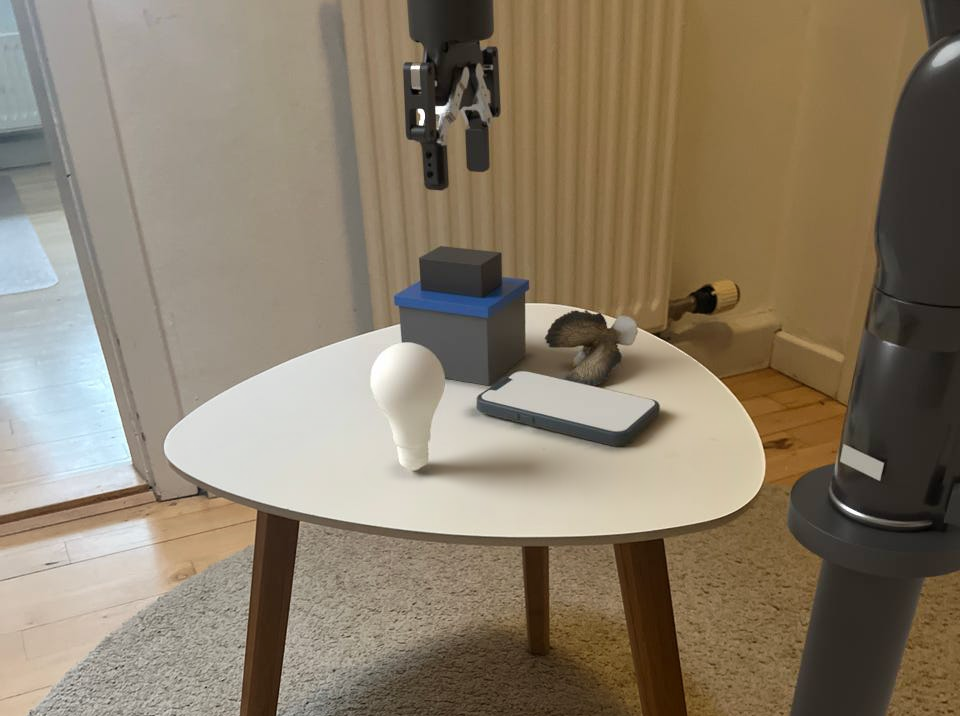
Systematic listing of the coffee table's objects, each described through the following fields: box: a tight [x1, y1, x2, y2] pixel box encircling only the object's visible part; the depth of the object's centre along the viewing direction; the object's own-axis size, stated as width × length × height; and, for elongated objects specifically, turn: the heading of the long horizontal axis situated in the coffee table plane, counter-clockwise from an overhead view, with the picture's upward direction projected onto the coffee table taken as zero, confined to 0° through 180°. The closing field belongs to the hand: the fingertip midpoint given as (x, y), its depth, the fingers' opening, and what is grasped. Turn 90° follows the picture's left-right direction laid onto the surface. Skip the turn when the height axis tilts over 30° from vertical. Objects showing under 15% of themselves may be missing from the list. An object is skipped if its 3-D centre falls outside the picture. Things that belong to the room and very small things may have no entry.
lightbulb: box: [369, 342, 446, 472], centre depth 82 cm, size 6×6×11 cm
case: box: [418, 245, 503, 298], centre depth 99 cm, size 7×5×3 cm, turn 63°
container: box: [393, 276, 530, 387], centre depth 102 cm, size 11×10×8 cm
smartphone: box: [476, 370, 661, 447], centre depth 93 cm, size 9×2×16 cm
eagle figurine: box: [544, 309, 639, 386], centre depth 100 cm, size 8×7×9 cm
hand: (458, 179), depth 94 cm, fingers open, 8 cm apart
